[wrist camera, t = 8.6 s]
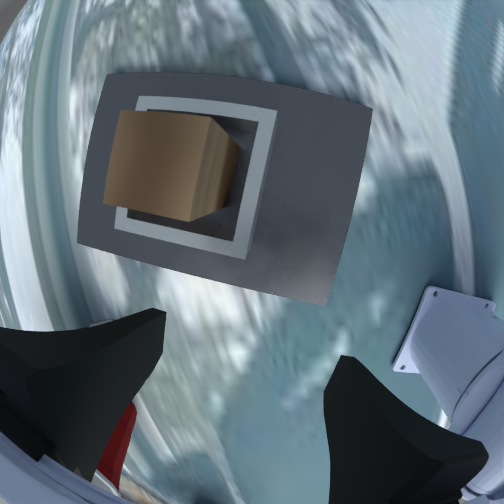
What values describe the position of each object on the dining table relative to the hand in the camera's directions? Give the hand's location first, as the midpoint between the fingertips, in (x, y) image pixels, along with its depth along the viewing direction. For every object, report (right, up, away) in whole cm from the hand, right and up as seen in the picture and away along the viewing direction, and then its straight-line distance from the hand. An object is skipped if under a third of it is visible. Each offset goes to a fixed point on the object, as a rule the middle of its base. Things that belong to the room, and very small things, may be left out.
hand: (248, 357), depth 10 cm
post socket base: (-3, +9, +8) cm, 13 cm away
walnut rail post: (-3, +9, +7) cm, 12 cm away
